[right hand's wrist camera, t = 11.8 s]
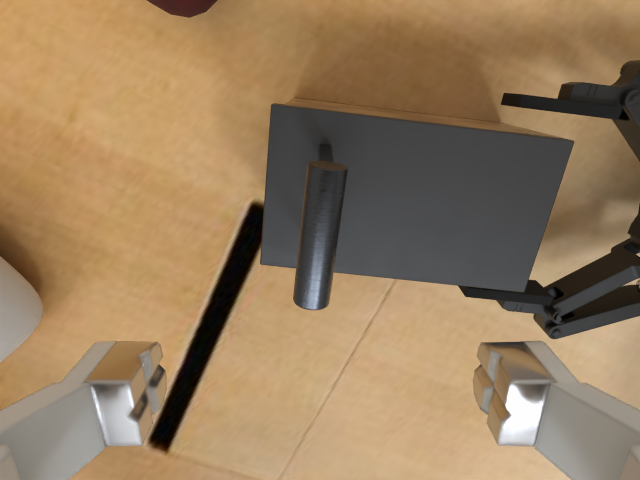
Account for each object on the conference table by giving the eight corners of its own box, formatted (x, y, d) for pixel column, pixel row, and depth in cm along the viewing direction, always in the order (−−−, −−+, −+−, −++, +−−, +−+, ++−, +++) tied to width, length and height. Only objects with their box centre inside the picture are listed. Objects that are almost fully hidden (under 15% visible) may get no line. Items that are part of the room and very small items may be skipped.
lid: (261, 258, 28) (237, 334, 20) (273, 103, 25) (248, 115, 16) (517, 285, 29) (598, 370, 21) (565, 138, 25) (686, 168, 17)
